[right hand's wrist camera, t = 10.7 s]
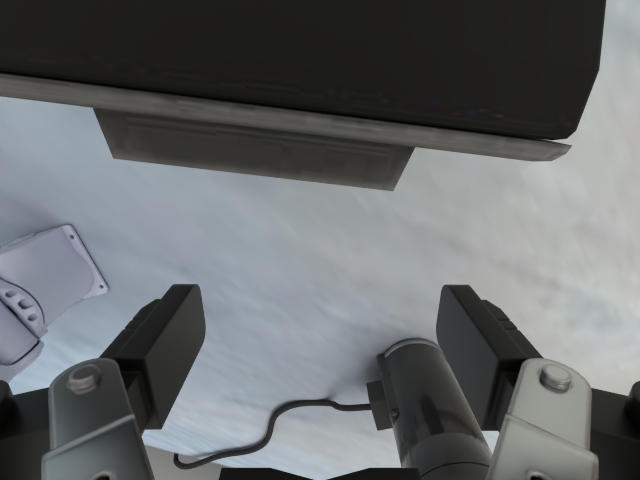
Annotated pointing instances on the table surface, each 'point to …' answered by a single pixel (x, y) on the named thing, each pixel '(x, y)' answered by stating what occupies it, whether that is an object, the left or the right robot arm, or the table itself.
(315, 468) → the table surface
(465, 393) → the right robot arm
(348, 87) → the cooler box
